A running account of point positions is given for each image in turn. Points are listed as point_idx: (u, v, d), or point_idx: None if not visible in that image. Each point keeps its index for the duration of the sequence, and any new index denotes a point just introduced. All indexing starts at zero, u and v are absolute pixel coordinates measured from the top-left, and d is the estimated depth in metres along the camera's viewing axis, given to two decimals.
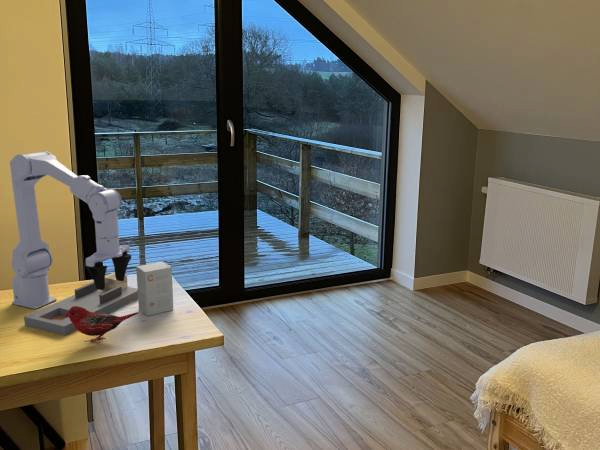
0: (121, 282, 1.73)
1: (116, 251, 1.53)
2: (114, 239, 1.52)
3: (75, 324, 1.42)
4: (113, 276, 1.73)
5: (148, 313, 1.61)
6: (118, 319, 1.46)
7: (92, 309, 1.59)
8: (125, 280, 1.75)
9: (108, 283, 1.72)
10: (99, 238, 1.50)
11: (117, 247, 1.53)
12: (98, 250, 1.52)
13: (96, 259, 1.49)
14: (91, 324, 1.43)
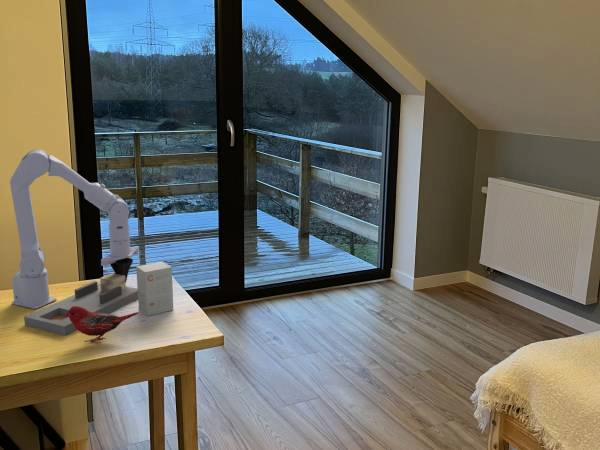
0: (119, 283, 1.72)
1: (127, 253, 1.74)
2: (126, 242, 1.73)
3: (75, 324, 1.42)
4: (111, 277, 1.73)
5: (148, 313, 1.61)
6: (118, 319, 1.46)
7: (92, 309, 1.59)
8: (123, 281, 1.74)
9: (106, 284, 1.71)
10: (113, 241, 1.72)
11: (128, 249, 1.74)
12: (112, 252, 1.73)
13: (110, 260, 1.70)
14: (91, 324, 1.43)
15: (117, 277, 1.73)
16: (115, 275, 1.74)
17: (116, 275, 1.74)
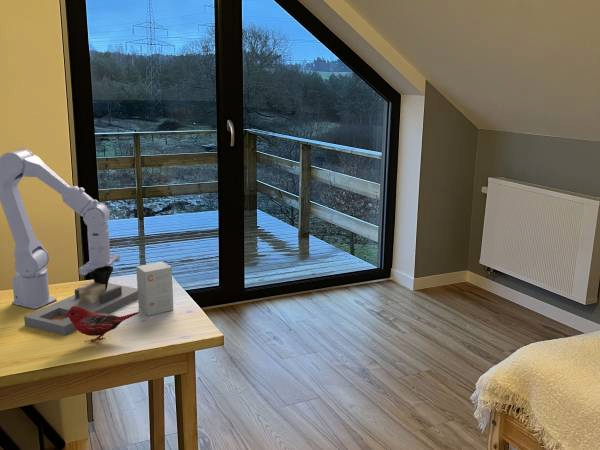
0: (99, 292, 1.65)
1: (107, 260, 1.66)
2: (105, 249, 1.65)
3: (75, 324, 1.42)
4: (90, 286, 1.65)
5: (148, 313, 1.61)
6: (118, 319, 1.46)
7: (92, 309, 1.59)
8: (103, 290, 1.66)
9: (85, 294, 1.64)
10: (91, 249, 1.64)
11: (108, 257, 1.66)
12: (90, 260, 1.65)
13: (89, 268, 1.62)
14: (91, 324, 1.43)
15: (97, 286, 1.65)
16: (95, 284, 1.67)
17: (96, 284, 1.67)
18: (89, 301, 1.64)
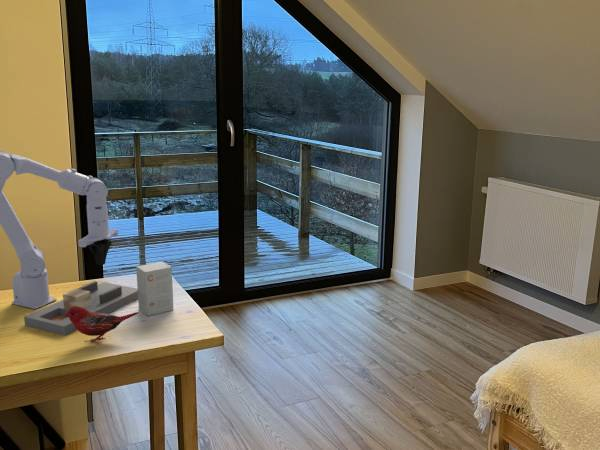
0: (84, 299, 1.59)
1: (106, 234, 1.71)
2: (104, 223, 1.70)
3: (75, 324, 1.42)
4: (75, 293, 1.60)
5: (148, 313, 1.61)
6: (118, 319, 1.46)
7: (92, 309, 1.59)
8: (88, 297, 1.61)
9: (69, 301, 1.58)
10: (90, 222, 1.69)
11: (107, 230, 1.72)
12: (89, 233, 1.71)
13: (87, 240, 1.67)
14: (91, 324, 1.43)
15: (82, 293, 1.60)
16: (80, 291, 1.61)
17: (81, 291, 1.61)
18: None
